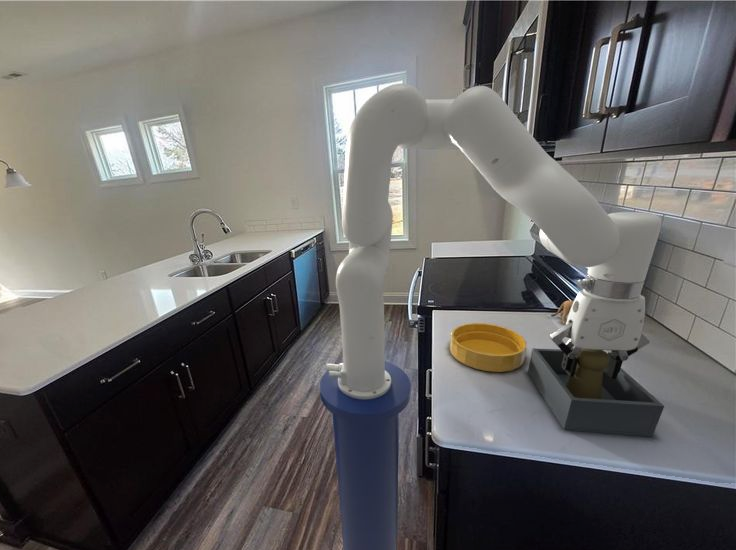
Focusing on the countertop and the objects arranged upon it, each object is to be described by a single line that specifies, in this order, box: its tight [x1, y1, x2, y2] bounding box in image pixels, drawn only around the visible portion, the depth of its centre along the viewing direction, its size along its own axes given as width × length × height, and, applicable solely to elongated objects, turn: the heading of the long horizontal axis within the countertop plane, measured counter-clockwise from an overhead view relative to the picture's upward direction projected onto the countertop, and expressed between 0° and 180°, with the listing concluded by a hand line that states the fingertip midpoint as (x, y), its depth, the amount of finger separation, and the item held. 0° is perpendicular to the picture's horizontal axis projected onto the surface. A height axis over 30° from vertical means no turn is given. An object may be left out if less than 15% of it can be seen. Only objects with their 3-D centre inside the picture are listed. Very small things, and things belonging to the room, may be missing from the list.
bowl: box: [449, 322, 528, 373], centre depth 81 cm, size 17×17×4 cm
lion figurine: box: [550, 300, 574, 325], centre depth 91 cm, size 15×5×9 cm, turn 35°
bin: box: [527, 347, 665, 438], centre depth 62 cm, size 14×18×7 cm
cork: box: [566, 349, 610, 399], centre depth 61 cm, size 6×6×11 cm
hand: (588, 373), depth 61 cm, fingers open, 6 cm apart
